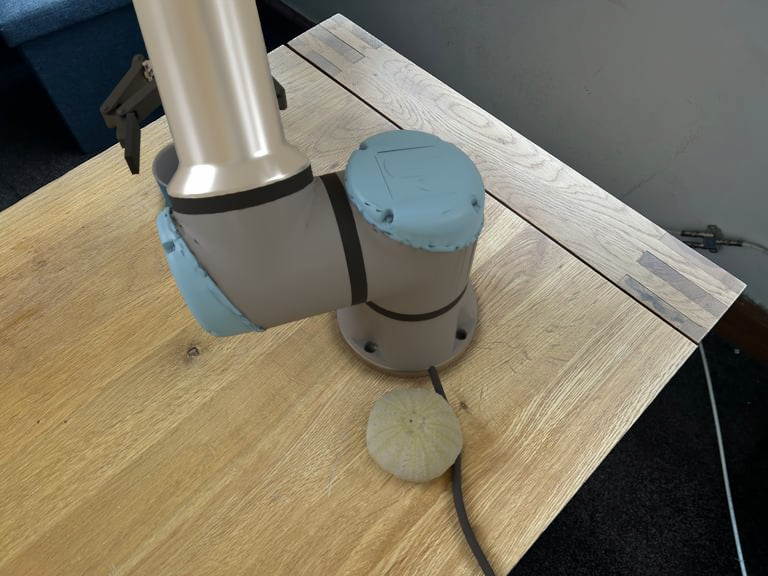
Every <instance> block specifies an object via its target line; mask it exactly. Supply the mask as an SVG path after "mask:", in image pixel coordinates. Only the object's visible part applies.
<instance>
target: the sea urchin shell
mask: <svg viewBox="0 0 768 576" xmlns="http://www.w3.org/2000/svg"><path fill="white" fill-rule="evenodd" d="M448 403H449V401H448V402H447V401H446V400H445V399H444V398H443V397H442V395H439V394H438V393H436V392H435V390H431V389H427V388H423V387H400V388H397V389H394V390H390V391H386V392H385V393H384V394H383V395H381V397H379V398H378V399H377V401H376V402H375V403H374V405H373V407H372V409H371V410H370V412H369V417H368V421H367V425H366V429H365V440H366V448H367V451H368V453H369V455H370V457H371V459H372V460H374V462H375V463H377V464H378V466H379V467H380V468H381V469H382V470H384V472H387V473H389V474H391V475H393V476H394V477H395V478H396V479H399V480H403V481H407V482H410V483H414V484H420V483H421V484H425V483H428V482H430V481H431V480H435V479H437V478H439V477H441V476H442V475H443V474H445V472H446V471H447V470H448V469H450V467H452V464H454V463H455V460H456V458H457V456H458V455H459V453H460V452H461V453H462V450H463V444H464V443H463V442H464V437H463V432H462V427H461V423H460V420H459V419H458V417H457V415H456V412H455V410H454V407H453V406H452V405H450V403H449V404H448Z"/></svg>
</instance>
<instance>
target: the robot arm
mask: <svg viewBox="0 0 768 576" xmlns="http://www.w3.org/2000/svg"><path fill="white" fill-rule="evenodd" d="M132 3H133V8H134V11H135V14H136V17H137V22H138V24H139V28H140V31H141V35H142V38H143V41H144V45H145V49H146V52H147V55H148V59H146V58H145V56H144V55H143V54H141V53H138V54H135V55H134V56H133V58H132V61H131V65H130V66H131V67H130V68H129V69H128V70H127V72H126V73H125V74H124V76H123V77H122V78H121V80H120V81H119V82H118V84H117V85H116V86H115V88H114V89H113V90H112V91H111V93H110V94H109V96H107V98H106V99H105V100H104V101H103V103H102V104H101V106H100V107H99V111H100V114H101V115H102V118H103V120H104V122H105V124H106V126H107V128H109V129H115V128H116V138H117V140H118V143H119V145H120V147H121V149H123V150H124V153H123V158H124V160H125V162H126V165H127V167H128V169H129V171H130V174H131V176H135V175H140V171H141V169H140V167H141V141H142V130H141V127H140V125H139V124H140V123H142V122H143V121H144V120H145V119H146V118H148V116H150V114H152V113H153V112H154V111H155V110H156V109H158V107H159V106H160V105H162V107H163V112H164V114H165V117H166V121H167V124H168V125H167V126H168V128H169V132H170V135H171V138H172V142H174V146H175V149H176V153H177V156H178V160H179V165H178V168H177V170H176V172H175V174H174V176H173V177H172V179H171V181H170V182H169V184H168V186H167V192H168V196H169V199H170V202H171V206H172V207H166V208H164V209H163V210H161V211H160V212H159V213H158V214H157V217H156V228H157V232H158V237H159V240H160V243H161V245H162V248H163V251H164V253H165V256H166V261H167V264H168V267H169V269H170V271H171V274H172V277H173V278H174V281H175V283H176V286H177V288H178V290H179V292H180V294H181V296H182V298H183V300H184V302H185V304H186V306H187V308H188V310H189V311H190V313H191V315H192V316H193V318H194V320H195V321H196V322H197V324H198V325H199V326H200V327H201V328H202V329H203V330H204V331H205V332H207V333H208V334H210V335H211V336H214V337H216V338H229V337H234V336H240V335H244V334H245V335H246V334H249V333H254V332H255V333H264V332H267V330H268V329H271V328H276V327H279V326H283V325H287V324H291V323H295V322H297V321H301V320H305V319H309V318H313V317H316V316H320V315H324V314H328V313H331V312H335V311H336V322H337V323H336V324H337V328H338V332H339V334H340V337H341V339H342V341H343V343H344V345H345V347H346V348H347V350H349V352H350V353H351V354H352V355H353V356H354V357H355V358H356V359H357V360H358V361H359V362H360V363H362V364H363V365H365V366H366V367H368V368H370V369H371V370H374V371H376V372H378V373H380V374H384V375H387V376H391V377H397V378H419V377H426V376H429V378H430V382H431V384H432V387H433V389H434V392H436V393H438V394H439V395H442V397H443V398H444V399H445V400H446V401H447V402H448V404H449V405H450V403H449V400H448V397H447V395H446V391H445V390H444V387H443V384H442V382H441V379H440V376H439V372H441V371H443V370H444V369H446V368H448V367H450V366H452V365H453V364H454V363H455V362H456V361H458V360H459V359H460V358H461V357H462V355H463V354H464V353H466V350H467V349H468V348H469V347H470V345H471V342H472V341H473V339H474V335H475V331H476V329H477V324H478V320H479V303H478V298H477V294H476V291H475V289H474V288H475V287H474V286H473V283H472V280H471V277H470V276H471V272H472V267H473V263H474V259H475V254H476V250H477V246H478V241H479V237H480V235H481V233H482V230H483V228H484V226H485V204H486V202H485V201H486V189H485V182H484V179H483V177H482V175H481V172H480V170H479V169H478V167H477V165H476V163H474V161H473V160H472V159H471V158H470V157H469V155H468V154H466V152H464V151H463V150H462V149H461V148H460V147H458V146H457V145H455V144H454V143H452V142H449V141H445V140H442V139H441V138H440V137H439V136H438V135H435V134H433V133H429V132H426V131H421V130H414V129H393V130H392V129H391V130H387V131H382V132H378V133H376V134H374V135H372V136H369V137H367V138H365V139H364V140H363V141H362V142H360V143H359V147H358V148H357V149H354V150H353V151H352V152H351V154H350V156H349V158H348V160H347V163H346V164H345V169H341V170H337V171H334V172H328V173H324V174H320V175H314V174H313V173H314V172H313V168H312V164H311V163H312V162H311V159H310V157H309V155H308V154H306V153H304V152H303V151H301V150H300V149H298V148H297V147H295V146H294V145H293V144H291V143H290V142H289V140H288V139H287V137H286V133H285V128H284V125H283V124H284V123H283V119H282V115H281V111H286V110H287V109H288V99H287V93H286V89H285V87H284V86H283V85H282V84H281V83H280V82H279V81H278V80H277V79H276V78H275V76H273V74H272V71H271V70H272V69H271V65H270V61H269V56H268V52H267V47H266V43H265V39H264V38H265V37H264V34H263V30H262V26H261V25H262V24H261V21H260V17H259V16H260V15H259V12H258V8H257V3H256V0H132ZM153 76H154V77H153ZM451 488H452V498H453V504H454V508H455V513H456V515H457V519H458V522H459V524H460V527H461V530H462V533H463V536H464V537H465V540H466V542H467V544H468V546H469V548H470V550H471V552H472V554H473V556H474V559H475V560H476V561H477V563H478V565H479V567H480V569H481V571H482V573H483V575H484V576H497V575H496V573H495V570H494V569H493V567H492V566H491V563H490V561H489V560H488V558H487V557H486V554H485V552H484V550H483V548H482V547H481V545H480V543H479V540H478V539H477V537H476V534H475V533H474V529H473V528H472V525H471V522H470V519H469V517H468V514H467V510H466V507H465V501H464V496H463V490H462V451H461V452H460V453H459V455H458V456H457V458H456V460H455V463H454V464H452V466H451Z"/></svg>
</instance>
